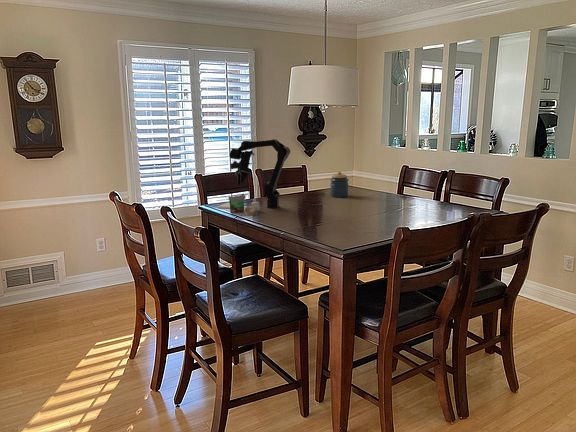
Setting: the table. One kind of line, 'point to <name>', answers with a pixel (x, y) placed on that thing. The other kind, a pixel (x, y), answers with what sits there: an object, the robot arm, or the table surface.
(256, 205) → the grey plastic cylinder
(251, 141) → the robot arm
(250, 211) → the birch block
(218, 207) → the cream tile
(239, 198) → the food container
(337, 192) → the canister
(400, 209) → the table surface
